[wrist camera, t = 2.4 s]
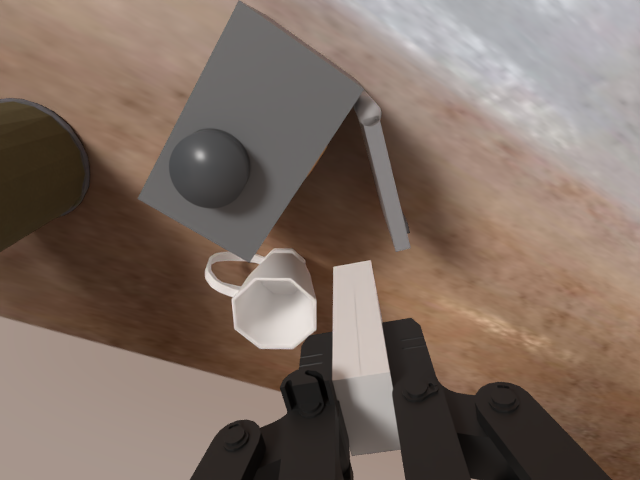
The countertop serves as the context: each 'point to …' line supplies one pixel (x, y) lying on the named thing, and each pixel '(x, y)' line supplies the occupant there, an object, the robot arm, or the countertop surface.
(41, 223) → the canister
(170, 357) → the countertop surface
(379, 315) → the robot arm
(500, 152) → the countertop surface
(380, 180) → the door
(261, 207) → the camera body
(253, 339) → the cup
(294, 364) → the countertop surface
